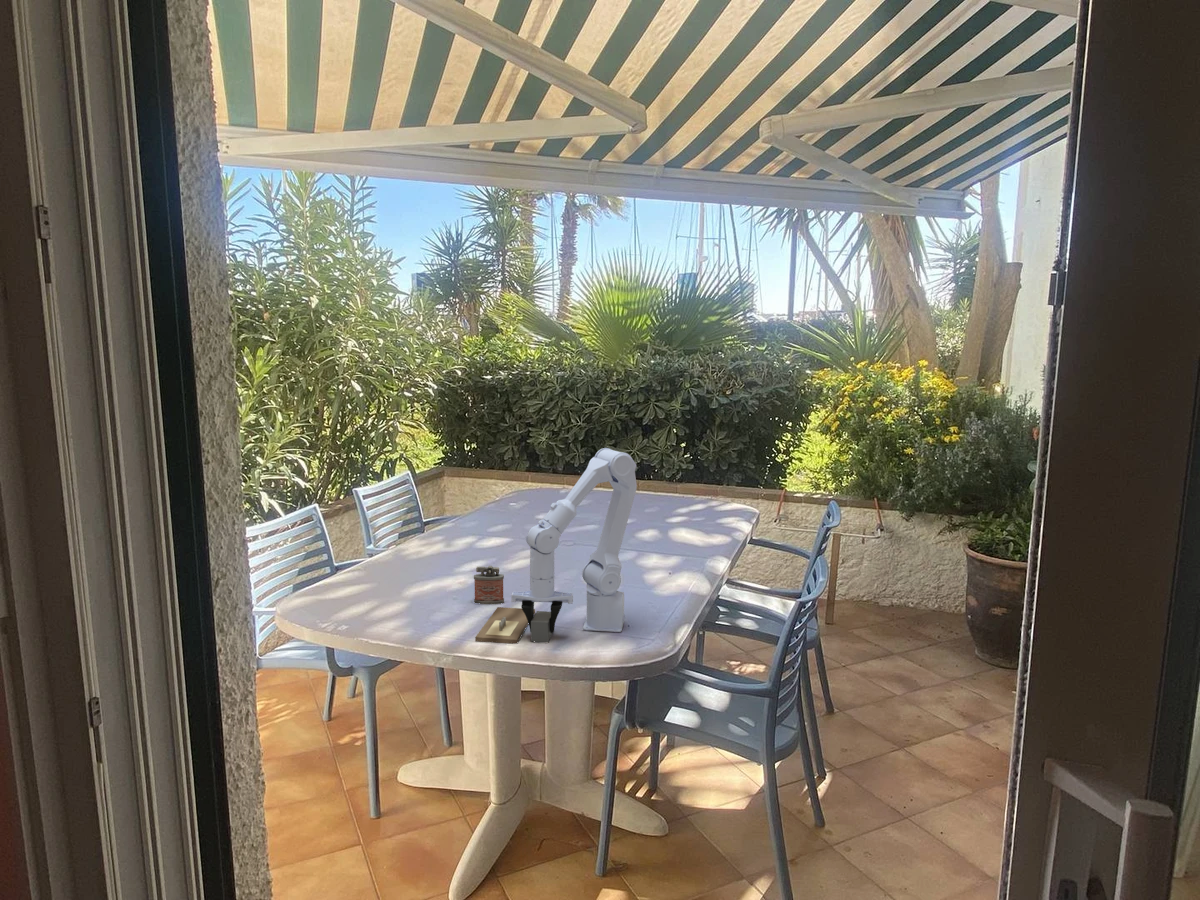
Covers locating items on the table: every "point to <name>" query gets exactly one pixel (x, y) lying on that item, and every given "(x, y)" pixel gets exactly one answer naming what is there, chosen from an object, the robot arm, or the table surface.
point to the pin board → (504, 626)
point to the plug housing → (541, 626)
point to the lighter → (488, 586)
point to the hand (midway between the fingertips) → (542, 631)
